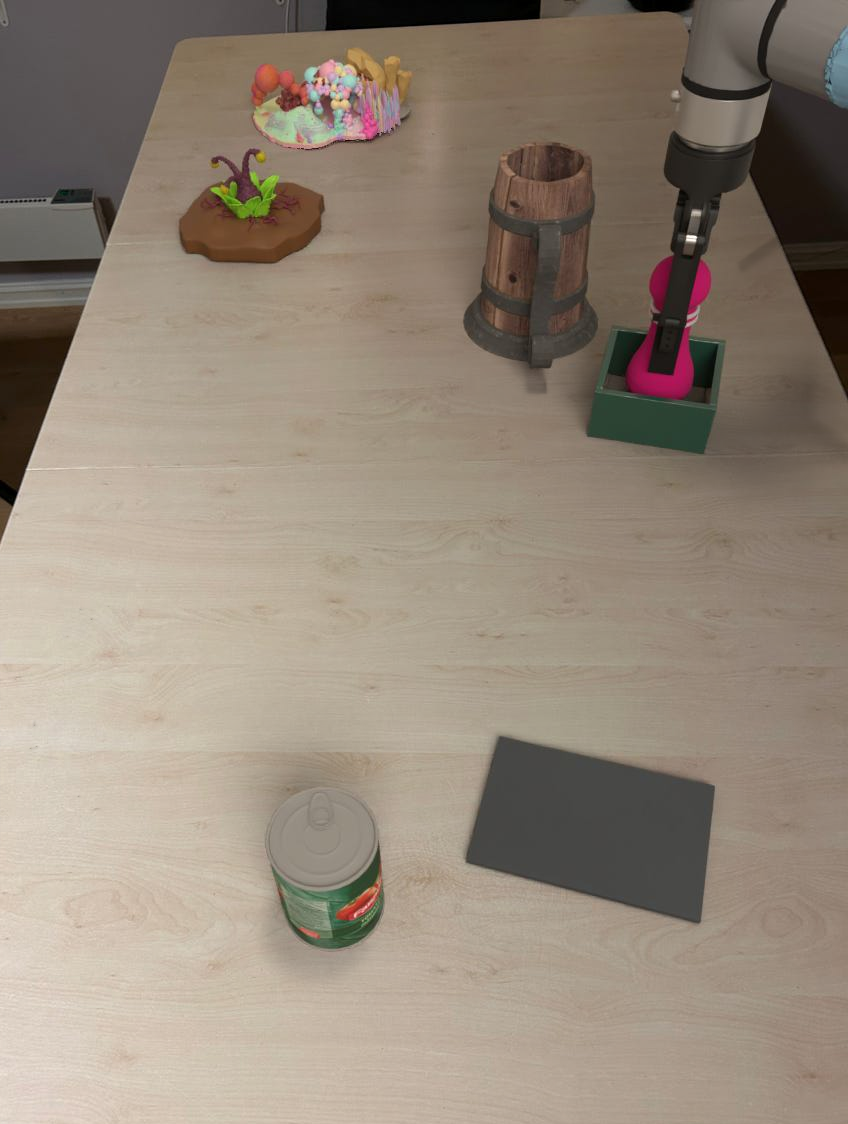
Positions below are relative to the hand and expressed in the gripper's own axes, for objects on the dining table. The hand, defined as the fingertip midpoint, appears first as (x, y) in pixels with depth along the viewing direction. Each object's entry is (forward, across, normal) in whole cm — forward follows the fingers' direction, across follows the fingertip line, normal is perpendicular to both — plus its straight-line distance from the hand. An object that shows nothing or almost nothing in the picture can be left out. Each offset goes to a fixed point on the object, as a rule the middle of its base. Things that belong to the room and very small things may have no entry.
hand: (664, 355), depth 104 cm
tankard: (+7, -11, -16) cm, 21 cm away
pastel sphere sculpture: (+8, -64, -60) cm, 88 cm away
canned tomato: (+7, +66, -16) cm, 68 cm away
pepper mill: (+7, 0, 0) cm, 7 cm away
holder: (+7, 0, 0) cm, 7 cm away
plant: (+7, -28, -60) cm, 67 cm away
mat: (+7, +54, +2) cm, 55 cm away
